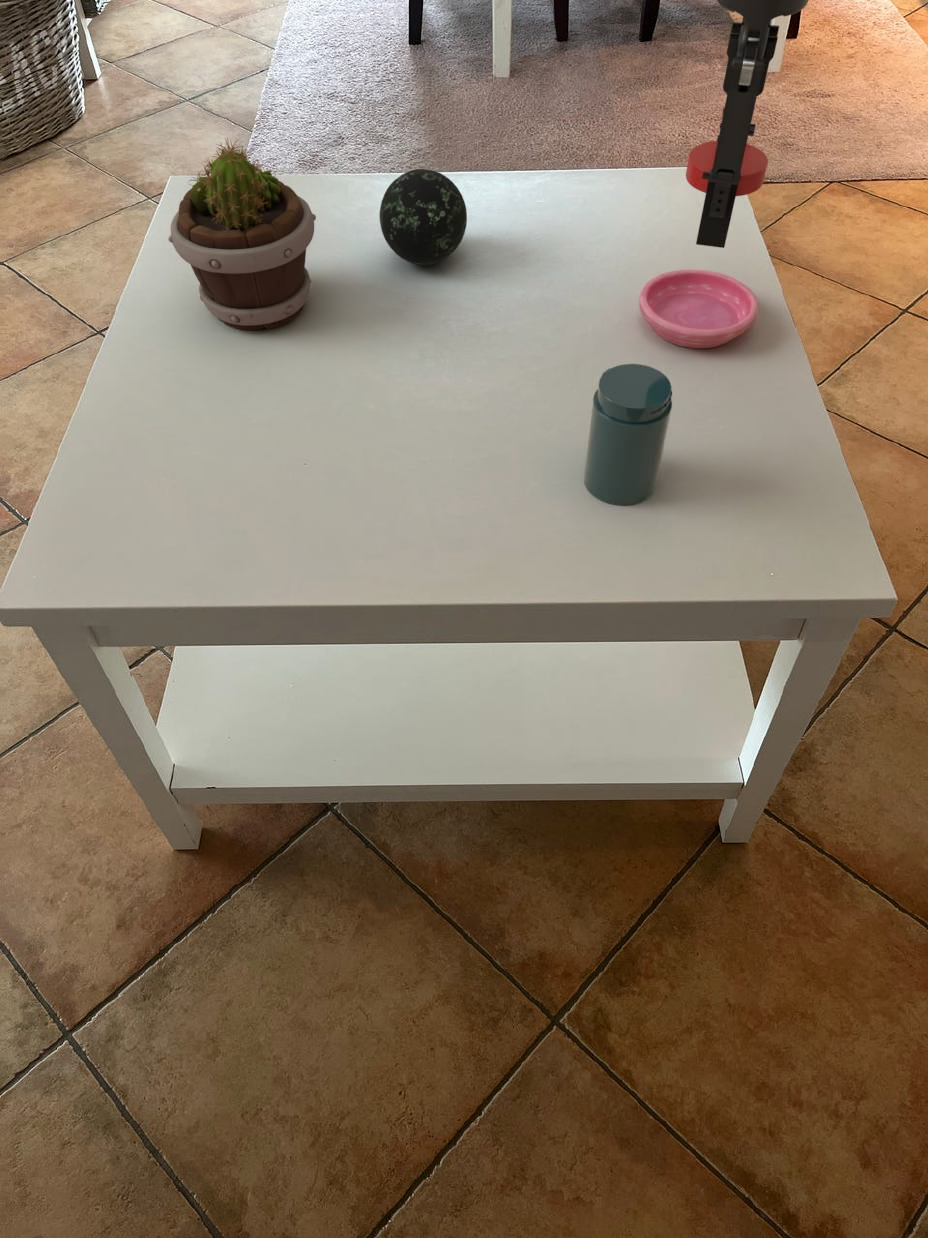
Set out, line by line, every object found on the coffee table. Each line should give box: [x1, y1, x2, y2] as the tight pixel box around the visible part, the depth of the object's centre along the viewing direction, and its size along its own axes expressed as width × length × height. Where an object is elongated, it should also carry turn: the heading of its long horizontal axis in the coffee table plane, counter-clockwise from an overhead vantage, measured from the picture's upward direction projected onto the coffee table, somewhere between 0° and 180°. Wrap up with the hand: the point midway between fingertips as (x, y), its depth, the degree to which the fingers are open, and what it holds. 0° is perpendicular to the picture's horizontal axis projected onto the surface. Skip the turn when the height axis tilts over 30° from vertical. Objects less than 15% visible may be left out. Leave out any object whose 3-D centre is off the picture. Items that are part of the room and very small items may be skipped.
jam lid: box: [685, 140, 769, 197], centre depth 86 cm, size 7×7×2 cm
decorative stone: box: [379, 168, 468, 266], centre depth 105 cm, size 10×10×10 cm
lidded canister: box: [583, 363, 673, 506], centre depth 80 cm, size 7×7×11 cm
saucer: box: [638, 269, 759, 349], centre depth 98 cm, size 12×12×3 cm
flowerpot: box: [168, 137, 317, 331], centre depth 95 cm, size 14×15×20 cm
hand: (714, 223), depth 91 cm, fingers closed on jam lid, 7 cm apart
